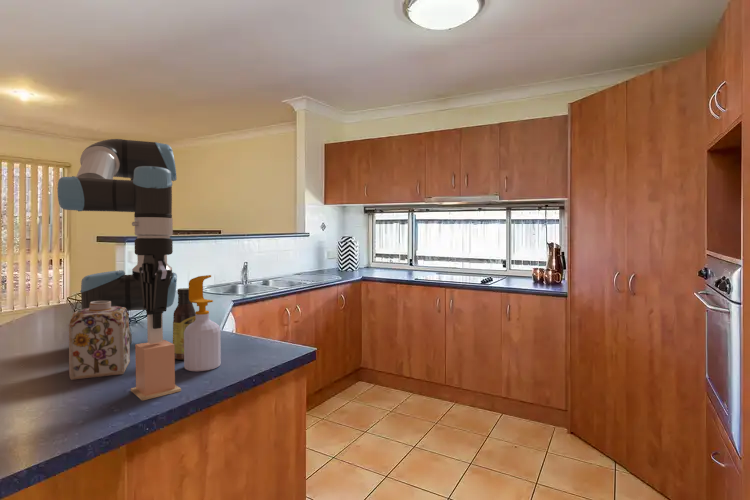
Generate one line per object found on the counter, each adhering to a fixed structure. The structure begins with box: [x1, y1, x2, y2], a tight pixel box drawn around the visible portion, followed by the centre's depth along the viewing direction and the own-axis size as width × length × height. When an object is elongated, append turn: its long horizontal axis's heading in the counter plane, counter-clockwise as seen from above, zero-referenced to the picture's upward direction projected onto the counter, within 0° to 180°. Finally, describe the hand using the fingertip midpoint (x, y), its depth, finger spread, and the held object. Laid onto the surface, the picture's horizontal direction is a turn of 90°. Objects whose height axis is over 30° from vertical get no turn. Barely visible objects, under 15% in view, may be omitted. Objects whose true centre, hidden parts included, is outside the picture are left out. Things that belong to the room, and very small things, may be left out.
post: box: [130, 384, 182, 401], centre depth 95 cm, size 8×8×7 cm
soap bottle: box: [183, 274, 222, 373], centre depth 113 cm, size 9×9×25 cm
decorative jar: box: [68, 301, 131, 381], centre depth 109 cm, size 12×12×18 cm
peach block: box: [134, 339, 176, 396], centre depth 95 cm, size 6×6×10 cm
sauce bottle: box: [172, 287, 196, 361], centre depth 121 cm, size 6×6×20 cm
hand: (155, 342), depth 95 cm, fingers closed
